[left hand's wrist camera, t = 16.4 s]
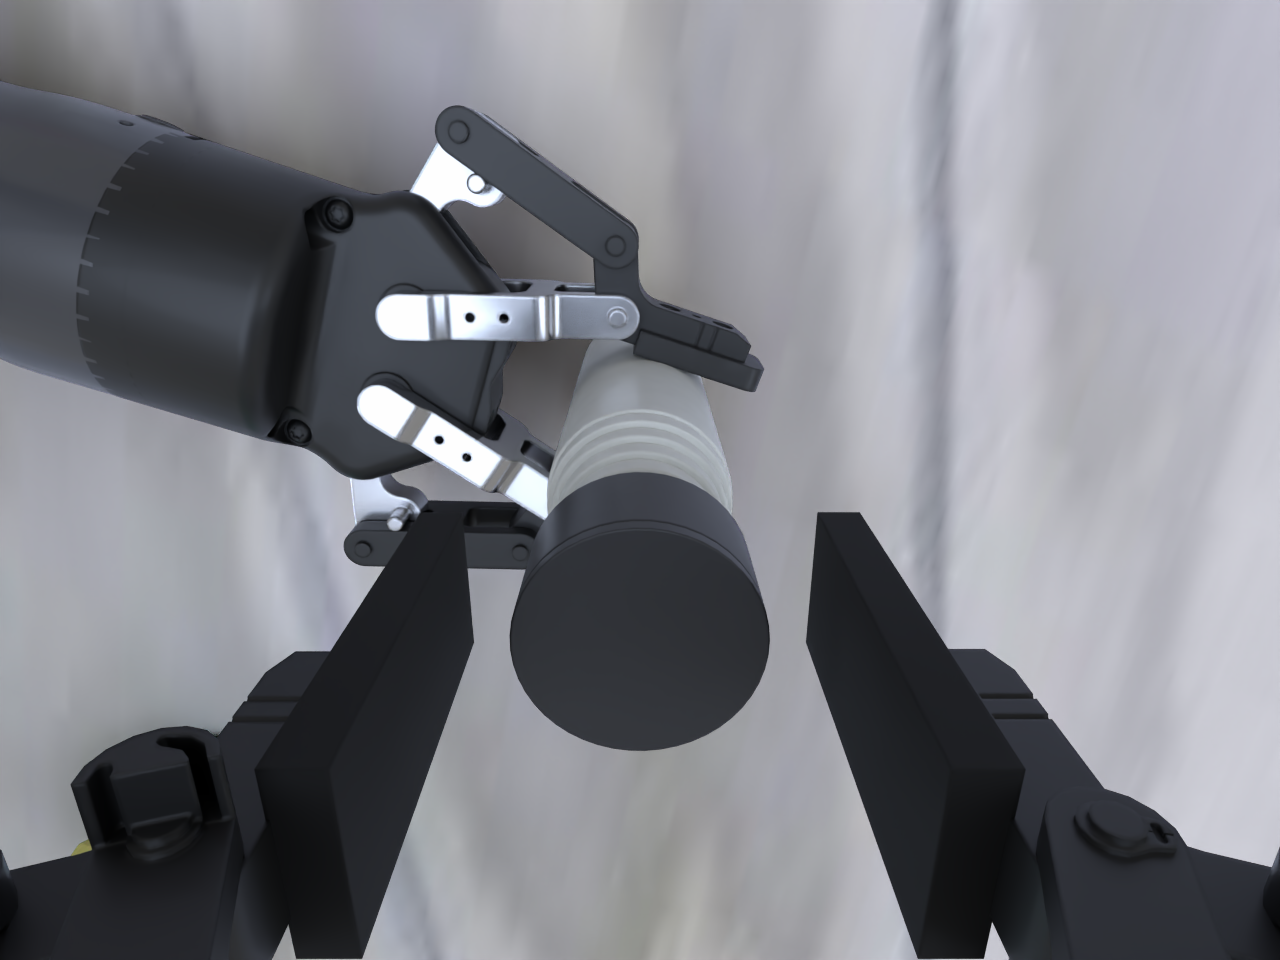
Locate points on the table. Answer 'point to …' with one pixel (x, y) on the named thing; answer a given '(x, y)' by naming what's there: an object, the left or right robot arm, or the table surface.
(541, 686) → the cap
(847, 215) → the table surface
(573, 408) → the bottle
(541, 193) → the right robot arm
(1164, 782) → the table surface
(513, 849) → the table surface
